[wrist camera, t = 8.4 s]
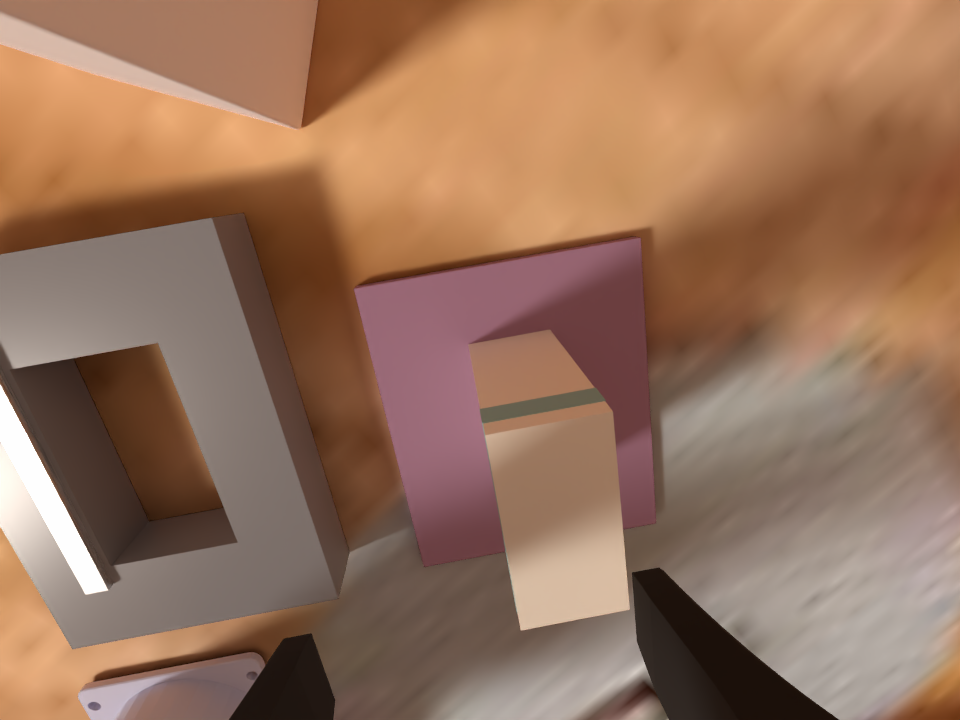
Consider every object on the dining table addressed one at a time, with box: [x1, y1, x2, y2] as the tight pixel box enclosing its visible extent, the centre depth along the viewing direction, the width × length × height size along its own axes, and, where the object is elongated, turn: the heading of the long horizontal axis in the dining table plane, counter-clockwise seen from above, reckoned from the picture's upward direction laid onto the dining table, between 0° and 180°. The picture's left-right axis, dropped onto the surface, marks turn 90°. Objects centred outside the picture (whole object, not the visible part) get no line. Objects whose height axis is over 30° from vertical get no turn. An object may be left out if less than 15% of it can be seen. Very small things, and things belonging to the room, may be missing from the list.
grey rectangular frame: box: [0, 213, 349, 649], centre depth 18 cm, size 14×10×3 cm
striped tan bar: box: [468, 330, 630, 631], centre depth 16 cm, size 6×3×7 cm, turn 9°
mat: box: [354, 236, 656, 567], centre depth 20 cm, size 12×10×1 cm
